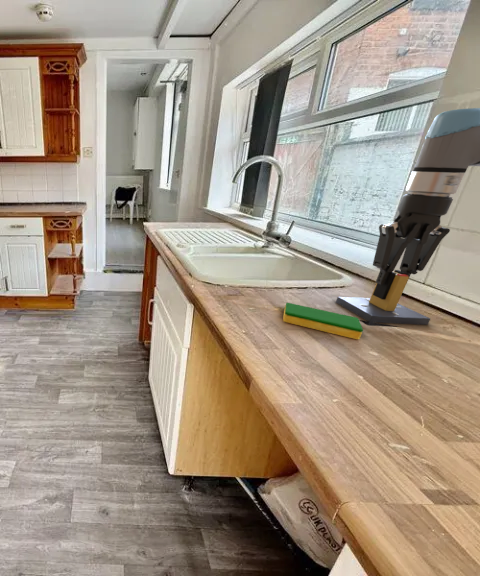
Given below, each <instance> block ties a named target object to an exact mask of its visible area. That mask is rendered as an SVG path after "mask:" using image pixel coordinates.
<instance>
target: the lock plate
mask: <svg viewBox="0 0 480 576" xmlns="http://www.w3.org/2000/svg"><path fill="white" fill-rule="evenodd" d="M370 298H371V297H354V296H353V297H352V296H337V298H336V301H335V303H336V304H338V305H339V306H341V307H343V308H345V309H346V310H348V311H349V312H351V313H353V314H355V315H357V316H358V317H360V318H362V319H364V320H362V319H361V320H360V319H359V321H360V322H362V323H363V324H365V325H367V326H369V327H370V326H371V327H390V328H391V327H392V328H400V326H398V325H399V324H400V325H422V326H428V325H429V323H430V321H431V317H428V316H426V315H424V314H422V313H419V312H417V311H415V310H413V309H411V308H409V307H407V306H405V305H403V304H401V303H398V304H397V306H396V308H395V311H385V310H383V309H381V308H379V307H377V306H375V305H374V304H372V303H370V302H369V300H370ZM391 324H398V325H391Z"/></svg>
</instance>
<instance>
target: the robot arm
mask: <svg viewBox="0 0 480 576" xmlns="http://www.w3.org/2000/svg"><path fill="white" fill-rule="evenodd" d="M469 167H480V107H471V108H469V107H468V108H458V109H450V110H445V111H442V112H440V113H438V114H437V115H436V116H435V117H434V119H433V121H432V123H431V124H430V126H429V129H428V130H427V133H426V134H425V136H424V140H423V144H422V146H421V148H420V151H419V154H418V157H417V160H416V162H415V164H414V167H413V170H412V171H411V174H410V176H409V179H408V181H407V184H406V187H405V189H404V191H405V192H407V193H405V194H404V195H402V197H401V199H400V202H399V205H398V207H397V212H398V215H397V216H396V217H395V218H394V219H393V221H392V222H390V223H387V224H384V223H381V224H380V225H379V226H378V232H379V237H378V241H377V246H376V250H375V255H374V258H373V261H372V266H373V267H375V268H377V269H379V272H378V275H377V277H376V280H375V283H377V286H376V285H375V286H376V288H375V287H374V288H375V290H374V289H373V291H374V293H373V292H372V293H373V295H374V296H376V297H378V298H380V299H386V297H387V294H388V292H389V289H390V287H391V285H392V282H393V280H394V278H395V275H396V273H395V272H397V273H400V274H405V275H408V277H409V278H410V277H411V275H417V274H418V272H423V271H424V270H425V268H426V266H427V265H428V263H429V261H430V260H431V258H432V256H433V254H434V253H435V252H436V250H437V248H438V247H439V245H440V243H441V242H442V240H443V239H444V238H445V237H446V236H447V235H448V234H449V233H450V232H451V229H450V228H448V227H443V226H442V225H441V217H442V216H446V215H447V214H448V212H449V209H450V207H451V205H452V203H453V200H454V198H453V197H451V195H454V194H456V193H457V192H458V189H459V187H460V185H461V182H462V180H463V178H464V176H465V173H466V172H467V171H468V170H467V169H468V168H469ZM401 258H402V259H401ZM400 259H401V263H400V265H399V269H396V268H397V266H398V263H399V261H400ZM393 271H394V272H393ZM407 284H408V282H407V283H406V285H407Z"/></svg>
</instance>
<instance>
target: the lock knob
mask: <svg viewBox="0 0 480 576" xmlns="http://www.w3.org/2000/svg"><path fill="white" fill-rule="evenodd" d="M394 271H395V270H394ZM394 271H393V272H394ZM395 273H396V275H395V278H394V280H393V282H392V285H391V287H390V289H389V292H388V294H387V297H386V299H380V298H378V297H376V296H374V295H373V293H374V290H375V288H376V286H377V283H376V282H375V283H376V284H375V285H374V288H373V291H372V293H371V296H370V297H369V298H370V300H369V302H370V303H372V304H374V305H375V306H377V307H379V308H381V309H383V310H385V311H395V308H396V306H397V304H399V302H400V299H401V297H402V294H403V292H404V290H405V288H406V286H407V284H408V282H409V280H410V277H408V275H405V274H400V273H397V272H395ZM406 283H407V284H406Z"/></svg>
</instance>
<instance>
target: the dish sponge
mask: <svg viewBox="0 0 480 576" xmlns="http://www.w3.org/2000/svg"><path fill="white" fill-rule="evenodd" d="M282 316H283V317H282V322H283V323H287V324H292V325H296V326H301V327H303V328H309V329H313V330H317V331H319V332H324V333H329V334H333V335H337V336H341V337H344V338H349V339H353V340H360V339H361V337H362V334H363V332H364V329H363V327H362V324H361V321H360V319H359V317H356V316H352V315H346V314H342V313H338V312H333V311H328V310H323V309H319V308H315V307H309V306H307V305H306V306H305V305H301V304H296V303H291V302H285V306H284V309H283V315H282Z"/></svg>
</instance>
